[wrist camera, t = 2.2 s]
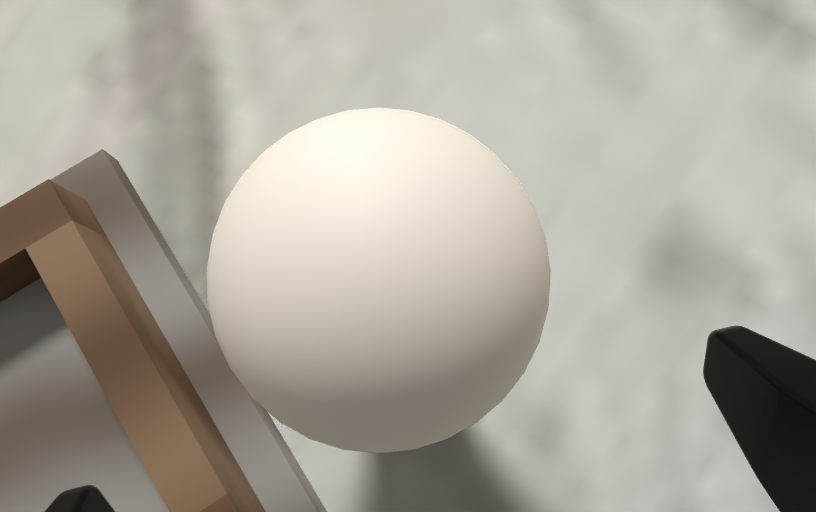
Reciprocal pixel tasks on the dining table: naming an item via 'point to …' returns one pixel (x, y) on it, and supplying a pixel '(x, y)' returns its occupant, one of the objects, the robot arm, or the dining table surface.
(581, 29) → the dining table surface
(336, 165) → the lightbulb
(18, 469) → the socket holder
